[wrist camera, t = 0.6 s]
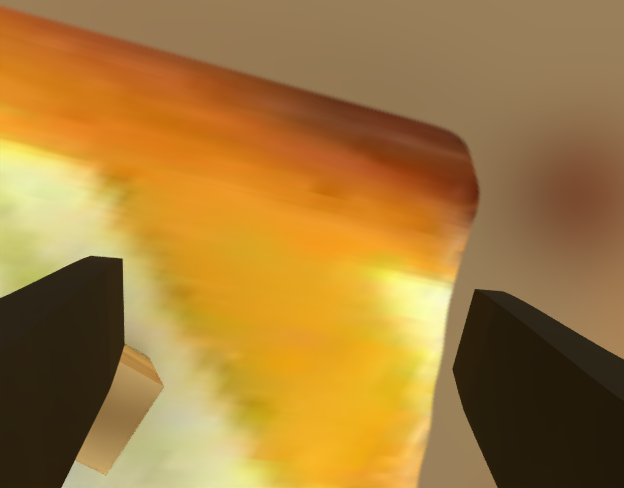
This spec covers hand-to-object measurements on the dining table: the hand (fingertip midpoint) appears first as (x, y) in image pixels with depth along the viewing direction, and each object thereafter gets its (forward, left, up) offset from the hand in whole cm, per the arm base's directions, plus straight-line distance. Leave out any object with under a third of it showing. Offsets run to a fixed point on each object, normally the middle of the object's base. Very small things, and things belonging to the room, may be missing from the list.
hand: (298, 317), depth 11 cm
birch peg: (-7, +1, -23) cm, 24 cm away
